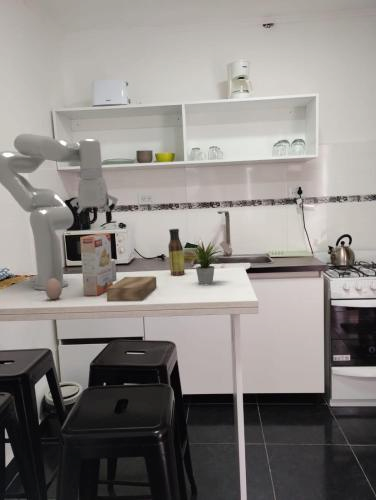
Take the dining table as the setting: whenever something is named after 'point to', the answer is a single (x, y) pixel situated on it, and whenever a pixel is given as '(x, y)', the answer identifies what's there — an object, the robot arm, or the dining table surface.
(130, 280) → the riser
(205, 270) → the house plant
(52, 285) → the egg
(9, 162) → the robot arm
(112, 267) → the grey mug
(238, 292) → the dining table surface
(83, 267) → the cracker box
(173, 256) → the sauce bottle
